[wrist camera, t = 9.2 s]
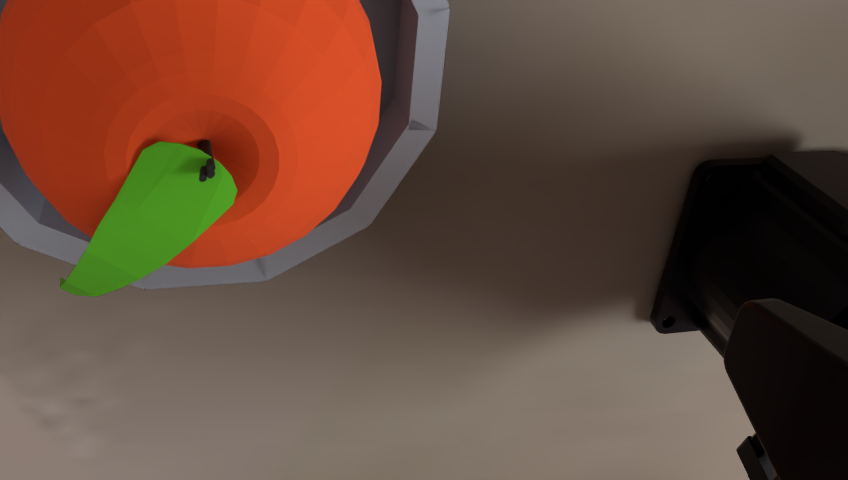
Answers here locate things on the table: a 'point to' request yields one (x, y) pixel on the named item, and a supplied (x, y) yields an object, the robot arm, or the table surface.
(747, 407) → the robot arm
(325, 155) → the clementine
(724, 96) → the table surface
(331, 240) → the saucer
